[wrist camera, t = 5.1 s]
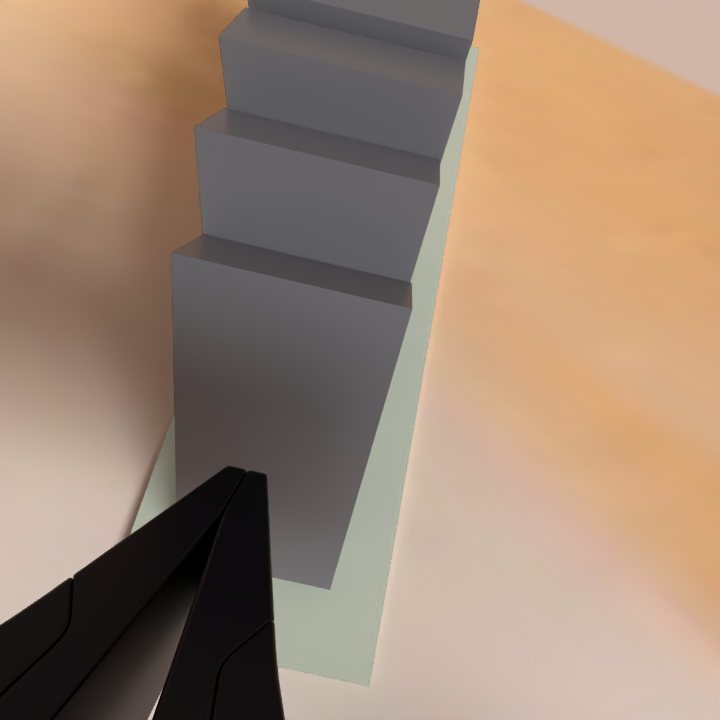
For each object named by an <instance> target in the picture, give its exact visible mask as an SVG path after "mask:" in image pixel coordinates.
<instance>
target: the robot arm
mask: <svg viewBox="0 0 720 720" xmlns="http://www.w3.org/2000/svg"><path fill="white" fill-rule="evenodd" d="M162 689H163V690H162ZM161 691H162V693H161ZM160 693H161V696H160V699H159V701H158V704H157V707H156V710H155V713H154V716H153V719H152V720H285V717H284V710H283V704H282V697H281V690H280V684H279V676H278V664H277V652H276V636H275V624H274V600H273V580H272V560H271V540H270V520H269V500H268V480H267V475H266V474H265V473H260V472H256V471H252V470H250V471H248V472H247V471H246V470H245V469H243V468H238V467H234V466H227V467H225V468H223V469H222V470H221V471H219V472H218V473H216V474H215V475H213V476H212V477H211V478H209V479H208V480H206V481H205V482H204V483H202V484H201V485H199V486H198V487H197V488H195V489H194V490H192V491H191V492H190V493H188V494H187V495H185V496H184V497H183V498H181V499H180V500H178V501H177V502H176V503H174V504H173V505H171V506H170V507H168V508H167V509H166V510H164V511H163V512H161V513H160V514H159V515H157V516H156V517H154V518H153V519H152V520H150V521H149V522H147V523H146V524H145V525H143V526H142V527H140V528H139V529H138V530H136V531H135V532H133V533H132V534H131V535H129V536H128V537H126V538H125V539H123V540H122V541H121V542H119V543H118V544H116V545H115V546H114V547H112V548H111V549H109V550H108V551H107V552H105V553H104V554H102V555H101V556H100V557H98V558H97V559H95V560H94V561H93V562H91V563H90V564H88V565H87V566H86V567H84V568H83V569H81V570H80V571H79V572H77V573H76V574H74V576H73V579H72V578H68V579H67V580H66V581H64V582H63V583H61V584H60V585H59V586H57V587H56V588H54V589H53V590H51V591H50V592H49V593H47V594H46V595H44V596H43V597H41V598H40V599H38V600H37V601H35V602H34V603H33V604H31V605H30V606H28V607H27V608H25V609H24V610H22V611H21V612H19V613H18V614H16V615H15V616H13V617H12V618H10V619H9V620H7V621H6V622H4V623H3V624H1V625H0V720H147V719H148V717H149V715H150V713H151V711H152V709H153V707H154V705H155V703H156V701H157V699H158V697H159V695H160Z"/></svg>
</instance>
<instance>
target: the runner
mask: <svg viewBox="0 0 720 720" xmlns="http://www.w3.org/2000/svg"><path fill="white" fill-rule="evenodd" d="M478 52H479V48H477V47H473V46H471V47H470V50H469V53H468V56H467V59H466V64H465V75H464V85H463V95H462V99H461V102H460V105H459V108H458V111H457V114H456V117H455V120H454V123H453V127H452V130H451V133H450V136H449V139H448V142H447V145H446V148H445V151H444V154H443V158H442V161H441V164H440V187H439V190H438V193H437V197H436V200H435V203H434V207H433V210H432V213H431V216H430V220H429V223H428V226H427V229H426V233H425V236H424V239H423V242H422V246H421V249H420V252H419V255H418V259H417V262H416V265H415V269H414V272H413V275H412V278H411V282H410V283H412V312H411V316H410V319H409V323H408V326H407V329H406V333H405V336H404V340H403V343H402V346H401V350H400V353H399V357H398V360H397V363H396V367H395V370H394V374H393V377H392V380H391V384H390V387H389V391H388V394H387V397H386V401H385V404H384V408H383V411H382V415H381V418H380V421H379V425H378V428H377V432H376V435H375V438H374V442H373V445H372V449H371V452H370V455H369V459H368V462H367V466H366V469H365V472H364V476H363V479H362V483H361V486H360V489H359V493H358V496H357V500H356V503H355V506H354V510H353V513H352V517H351V520H350V523H349V527H348V530H347V534H346V537H345V541H344V544H343V547H342V551H341V554H340V558H339V561H338V564H337V568H336V571H335V575H334V578H333V581H332V585H331V588H330V590H328V589H323V588H319V587H314V586H309V585H305V584H300V583H296V582H291V581H287V580H282V579H278V578H273V577H272V580H273V600H274V624H275V636H276V652H277V664H278V667H281V668H286V669H291V670H295V671H300V672H304V673H309V674H314V675H318V676H323V677H327V678H332V679H337V680H341V681H346V682H350V683H355V684H360V685H364V686H370V680H371V674H372V668H373V663H374V657H375V651H376V645H377V639H378V634H379V628H380V622H381V616H382V610H383V604H384V599H385V593H386V587H387V581H388V575H389V570H390V564H391V558H392V552H393V546H394V541H395V535H396V529H397V523H398V517H399V511H400V506H401V500H402V494H403V488H404V482H405V477H406V471H407V465H408V459H409V453H410V447H411V442H412V436H413V430H414V424H415V418H416V413H417V407H418V401H419V395H420V389H421V383H422V378H423V372H424V366H425V360H426V354H427V349H428V343H429V337H430V331H431V325H432V320H433V314H434V308H435V302H436V296H437V290H438V285H439V279H440V273H441V267H442V261H443V256H444V250H445V244H446V238H447V232H448V226H449V221H450V215H451V209H452V203H453V197H454V192H455V186H456V180H457V174H458V168H459V162H460V157H461V151H462V145H463V139H464V133H465V128H466V122H467V116H468V110H469V104H470V98H471V93H472V87H473V81H474V75H475V69H476V64H477V58H478ZM174 503H176V474H175V418H174V414H173V417H172V420H171V422H170V425H169V428H168V431H167V434H166V436H165V439H164V442H163V445H162V447H161V450H160V453H159V456H158V459H157V461H156V464H155V467H154V470H153V473H152V475H151V478H150V481H149V484H148V486H147V489H146V492H145V495H144V498H143V500H142V503H141V506H140V509H139V511H138V514H137V517H136V520H135V523H134V525H133V528H132V531H131V534H132V533H133V532H135V531H136V530H138V529H139V528H140V527H142V526H143V525H145V524H146V523H147V522H149V521H150V520H152V519H153V518H154V517H156V516H157V515H159V514H160V513H161V512H163V511H164V510H166V509H167V508H168V507H170V506H171V505H173V504H174ZM131 534H130V535H131Z"/></svg>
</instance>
